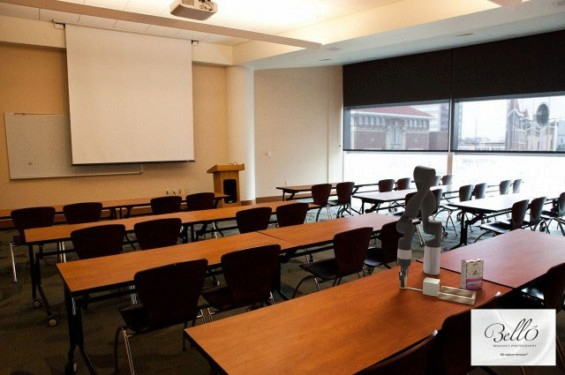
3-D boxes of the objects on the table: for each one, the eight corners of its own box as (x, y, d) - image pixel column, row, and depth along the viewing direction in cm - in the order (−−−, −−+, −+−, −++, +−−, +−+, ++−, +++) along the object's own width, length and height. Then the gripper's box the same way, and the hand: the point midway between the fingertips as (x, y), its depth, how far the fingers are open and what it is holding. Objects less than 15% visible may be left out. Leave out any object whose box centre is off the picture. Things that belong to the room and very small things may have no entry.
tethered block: (398, 289, 227) (399, 277, 226) (401, 284, 234) (402, 273, 233) (437, 296, 217) (437, 284, 216) (439, 291, 224) (440, 279, 223)
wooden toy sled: (437, 298, 215) (438, 292, 215) (441, 290, 225) (441, 285, 224) (473, 304, 207) (473, 299, 206) (475, 297, 216) (476, 291, 216)
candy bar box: (476, 285, 233) (477, 257, 231) (482, 288, 228) (484, 260, 226) (459, 287, 230) (461, 259, 228) (465, 290, 225) (467, 262, 223)
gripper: (408, 261, 219) (407, 291, 222) (414, 254, 231) (413, 283, 234) (394, 259, 223) (393, 289, 225) (400, 252, 235) (399, 280, 238)
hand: (403, 285), depth 230 cm, fingers open, 3 cm apart
